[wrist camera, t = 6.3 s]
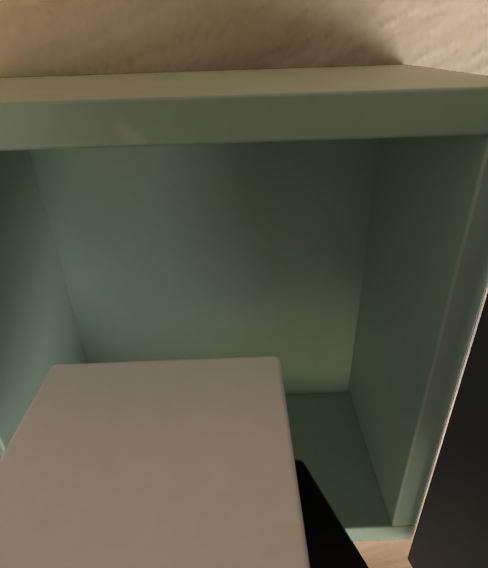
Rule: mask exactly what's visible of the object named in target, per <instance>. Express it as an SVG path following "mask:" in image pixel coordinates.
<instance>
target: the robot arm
mask: <svg viewBox="0 0 488 568" xmlns="http://www.w3.org/2000/svg"><path fill="white" fill-rule="evenodd" d="M294 460H295V466H296V473H297V480H298V487H299V494H300V501H301V507H302V514H303V521H304V528H305V535H306V542H307V549H308V555H309V562H310V568H368V566H367V565H366V563H365V561H364V560H363V558H362V556H361V555H360V553H359V552H358V550H357V548H356V547H355V545H354V543H353V542H352V540H351V538H350V537H349V535H348V534H347V532H346V530H345V529H344V527H343V525H342V524H341V522H340V521H339V519H338V517H337V516H336V514H335V512H334V511H333V509H332V508H331V506H330V504H329V503H328V501H327V499H326V498H325V496H324V495H323V493H322V491H321V490H320V488H319V486H318V485H317V483H316V481H315V480H314V478H313V477H312V475H311V473H310V472H309V470H308V468H307V467H306V465H305V464H304V462H303V461H302V460H300V459H294Z"/></svg>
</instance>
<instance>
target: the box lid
mask: <svg viewBox="0 0 488 568" xmlns="http://www.w3.org/2000/svg"><path fill="white" fill-rule="evenodd" d="M408 560H409V562H410V564H411V565H412V567H413V568H488V294H487V298H486V301H485V304H484V308H483V311H482V314H481V318H480V321H479V324H478V328H477V331H476V334H475V337H474V341H473V344H472V347H471V351H470V354H469V357H468V361H467V364H466V367H465V370H464V374H463V377H462V380H461V384H460V387H459V390H458V394H457V397H456V400H455V404H454V407H453V410H452V413H451V417H450V420H449V423H448V427H447V430H446V433H445V437H444V440H443V443H442V447H441V450H440V453H439V456H438V460H437V463H436V466H435V470H434V473H433V476H432V480H431V483H430V486H429V489H428V493H427V496H426V499H425V503H424V506H423V509H422V513H421V516H420V519H419V523H418V526H417V529H416V532H415V536H414V539H413V542H412V546H411V549H410V552H409V556H408Z"/></svg>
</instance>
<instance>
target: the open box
mask: <svg viewBox="0 0 488 568" xmlns="http://www.w3.org/2000/svg"><path fill="white" fill-rule="evenodd" d="M487 285H488V76H484V75H477V74H470V73H463V72H456V71H448V70H441V69H434V68H427V67H420V66H412V65H374V66H344V67H314V68H284V69H254V70H223V71H193V72H163V73H133V74H103V75H72V76H42V77H12V78H0V458H1V456H2V455H3V453H4V451H5V449H6V447H7V446H8V444H9V442H10V440H11V439H12V437H13V435H14V433H15V431H16V430H17V428H18V426H19V424H20V422H21V421H22V419H23V417H24V415H25V413H26V412H27V410H28V408H29V406H30V404H31V403H32V401H33V399H34V397H35V396H36V394H37V392H38V390H39V388H40V387H41V385H42V383H43V381H44V379H45V378H46V376H47V374H48V372H49V370H50V369H51V367H52V366H53V365H56V364H78V363H104V362H131V361H157V360H183V359H210V358H236V357H262V356H277V357H278V358H279V360H280V364H281V371H282V377H283V384H284V391H285V398H286V405H287V412H288V418H289V425H290V432H291V439H292V446H293V453H294V459H300V460H302V461H303V462H304V464H305V465H306V467H307V468H308V470H309V472H310V473H311V475H312V477H313V478H314V480H315V481H316V483H317V485H318V486H319V488H320V490H321V491H322V493H323V495H324V496H325V498H326V499H327V501H328V503H329V504H330V506H331V508H332V509H333V511H334V512H335V514H336V516H337V517H338V519H339V521H340V522H341V524H342V525H343V527H344V529H345V530H346V532H347V534H348V535H349V537H350V538H351V540H352V542H353V541H380V540H406V539H412V537H413V533H414V530H415V526H416V525H415V524H416V523H417V519H418V516H419V513H420V509H421V506H422V502H423V499H424V496H425V492H426V489H427V486H428V482H429V479H430V476H431V472H432V469H433V466H434V462H435V459H436V456H437V452H438V449H439V446H440V442H441V439H442V435H443V432H444V429H445V425H446V422H447V419H448V415H449V412H450V409H451V405H452V402H453V399H454V395H455V392H456V389H457V385H458V382H459V379H460V375H461V372H462V368H463V365H464V362H465V358H466V355H467V352H468V348H469V345H470V342H471V338H472V335H473V332H474V328H475V325H476V322H477V318H478V315H479V312H480V308H481V305H482V301H483V298H484V295H485V291H486V288H487Z"/></svg>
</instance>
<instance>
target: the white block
mask: <svg viewBox="0 0 488 568" xmlns="http://www.w3.org/2000/svg"><path fill="white" fill-rule="evenodd" d="M0 568H310V562H309V555H308V549H307V542H306V535H305V528H304V521H303V514H302V507H301V501H300V494H299V487H298V480H297V473H296V466H295V460H294V453H293V446H292V439H291V432H290V425H289V418H288V412H287V405H286V398H285V391H284V384H283V377H282V371H281V364H280V360H279V358H278V357H277V356H262V357H236V358H210V359H183V360H157V361H131V362H104V363H78V364H56V365H53V366H52V367H51V369H50V370H49V372H48V374H47V376H46V378H45V379H44V381H43V383H42V385H41V387H40V388H39V390H38V392H37V394H36V396H35V397H34V399H33V401H32V403H31V404H30V406H29V408H28V410H27V412H26V413H25V415H24V417H23V419H22V421H21V422H20V424H19V426H18V428H17V430H16V431H15V433H14V435H13V437H12V439H11V440H10V442H9V444H8V446H7V447H6V449H5V451H4V453H3V455H2V456H1V458H0Z"/></svg>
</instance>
